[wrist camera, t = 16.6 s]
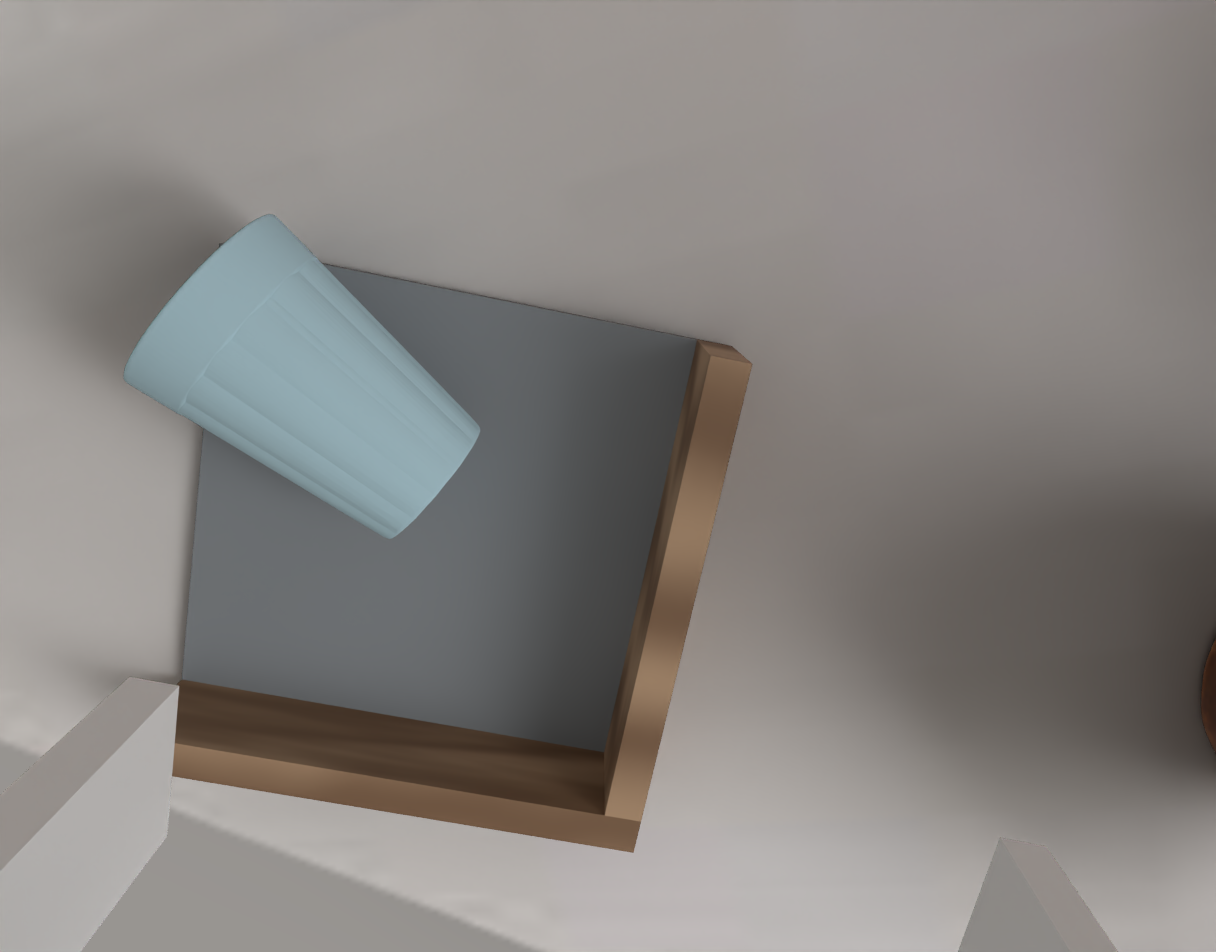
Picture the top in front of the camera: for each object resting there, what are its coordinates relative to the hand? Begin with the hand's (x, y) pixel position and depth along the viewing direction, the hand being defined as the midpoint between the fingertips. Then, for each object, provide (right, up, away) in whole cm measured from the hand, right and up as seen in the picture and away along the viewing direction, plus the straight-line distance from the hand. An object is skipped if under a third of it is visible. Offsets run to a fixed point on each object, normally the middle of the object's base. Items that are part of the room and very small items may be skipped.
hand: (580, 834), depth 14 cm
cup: (-8, +7, +24) cm, 26 cm away
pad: (-7, +4, +24) cm, 25 cm away
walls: (-7, +3, +24) cm, 26 cm away
